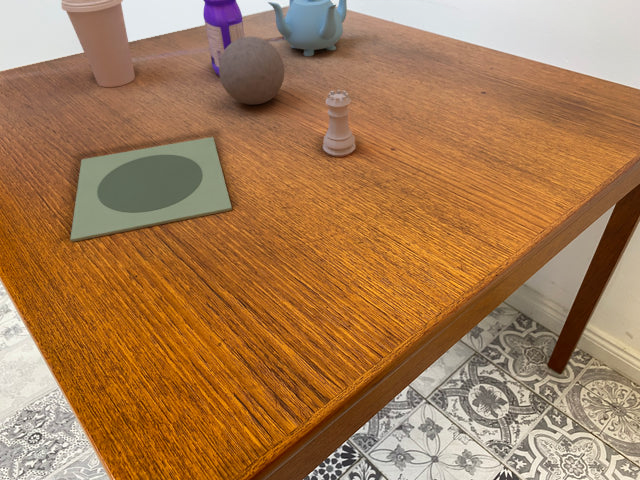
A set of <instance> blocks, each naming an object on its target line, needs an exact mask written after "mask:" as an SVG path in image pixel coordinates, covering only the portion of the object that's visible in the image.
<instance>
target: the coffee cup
mask: <svg viewBox="0 0 640 480" xmlns="http://www.w3.org/2000/svg"><path fill="white" fill-rule="evenodd" d="M123 1H124V0H61V3H60V4H61V10H62V11H65V12H66V15H67V16H68V18H69V20H70V23H71V25H72V28H73V30H74V32H75V35H76V37H77V39H78V41H79V44H80V46H81V49H82V51H83V53H84V55H85V58H86V60H87V62H88V65H89V67H90V70H91V71H92V74H93V77H94V78H95V81H96V83H97V85H98V86H100V87H103V88H116V87H121V86H125V85H127V84H130V83H131V82H134V81H135V78H136V74H135V70H134V69H135V68H134V64H133V58H132V53H131V48H130V43H129V37H128V33H127V28H126V22H125V17H124V11H123V7H122V2H123Z"/></svg>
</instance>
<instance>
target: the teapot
mask: <svg viewBox="0 0 640 480" xmlns="http://www.w3.org/2000/svg"><path fill="white" fill-rule="evenodd" d="M267 4H269V5H270V6H271V7H272V8H273V10H274V14H275V25H276V29H277V31H278V33H280V34H281V36H282V37H283V38H284V40H285V41H286V43H288V44H289V45H290V46H291V47H290V48H292V49H298V50H303V56H305V57H311V56H314V55H315V50H316V51H317V50H323V49H325V50H326V51H335V50H337V47H336V44H337V43H338V41H339V40H340V39H341V38H342V36H343V33H344V26H343V23H344V22H345V20H346V17H347V14H348V12H347V11H348V10H347V9H348V6H347V5H348V4H347V0H338V4H334V3H333V2H332V1H331V0H289V3H288V5H289V6H288V10H287V12H286V13H285V15H284V13H283V9H282V7H281V5H280V4H279V3H277V2H271V1H268V2H267ZM336 6H337V7H336ZM284 16H285V17H284Z"/></svg>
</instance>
